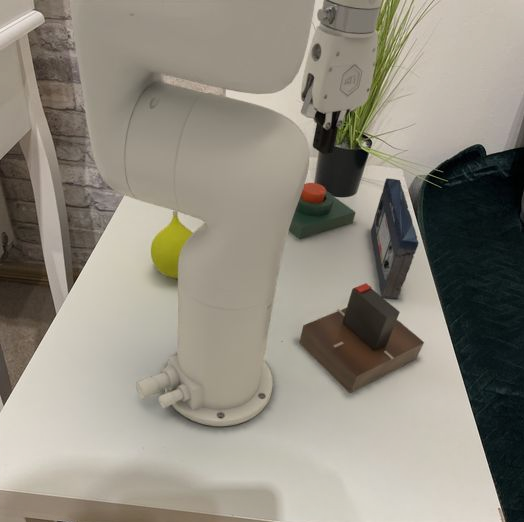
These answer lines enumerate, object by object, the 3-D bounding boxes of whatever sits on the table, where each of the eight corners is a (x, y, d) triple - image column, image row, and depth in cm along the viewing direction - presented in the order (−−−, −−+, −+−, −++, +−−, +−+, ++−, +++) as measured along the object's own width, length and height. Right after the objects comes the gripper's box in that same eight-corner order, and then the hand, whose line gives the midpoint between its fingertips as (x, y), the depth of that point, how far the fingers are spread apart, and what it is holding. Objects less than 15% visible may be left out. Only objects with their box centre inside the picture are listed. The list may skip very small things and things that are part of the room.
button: (310, 206, 86) (312, 196, 85) (295, 194, 88) (297, 185, 87) (328, 201, 88) (331, 191, 87) (313, 190, 90) (315, 180, 89)
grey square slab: (386, 345, 65) (400, 310, 61) (374, 351, 64) (387, 316, 60) (354, 316, 68) (366, 281, 64) (342, 321, 67) (353, 286, 63)
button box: (299, 239, 85) (303, 218, 83) (264, 210, 91) (266, 189, 88) (352, 223, 91) (358, 202, 88) (316, 196, 96) (320, 176, 94)
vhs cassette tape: (369, 231, 90) (386, 177, 83) (386, 233, 90) (404, 179, 83) (377, 297, 77) (398, 240, 70) (397, 300, 77) (420, 243, 70)
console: (350, 393, 63) (357, 376, 61) (298, 341, 68) (302, 323, 66) (417, 359, 68) (425, 341, 66) (364, 313, 74) (370, 296, 72)
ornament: (178, 252, 79) (178, 191, 72) (211, 274, 76) (215, 213, 69) (141, 271, 75) (137, 208, 68) (175, 294, 72) (175, 232, 65)
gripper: (324, 29, 64) (300, 169, 77) (407, 22, 71) (372, 152, 84) (288, 11, 68) (270, 147, 81) (370, 7, 75) (341, 133, 88)
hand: (322, 149), depth 83 cm, fingers closed
